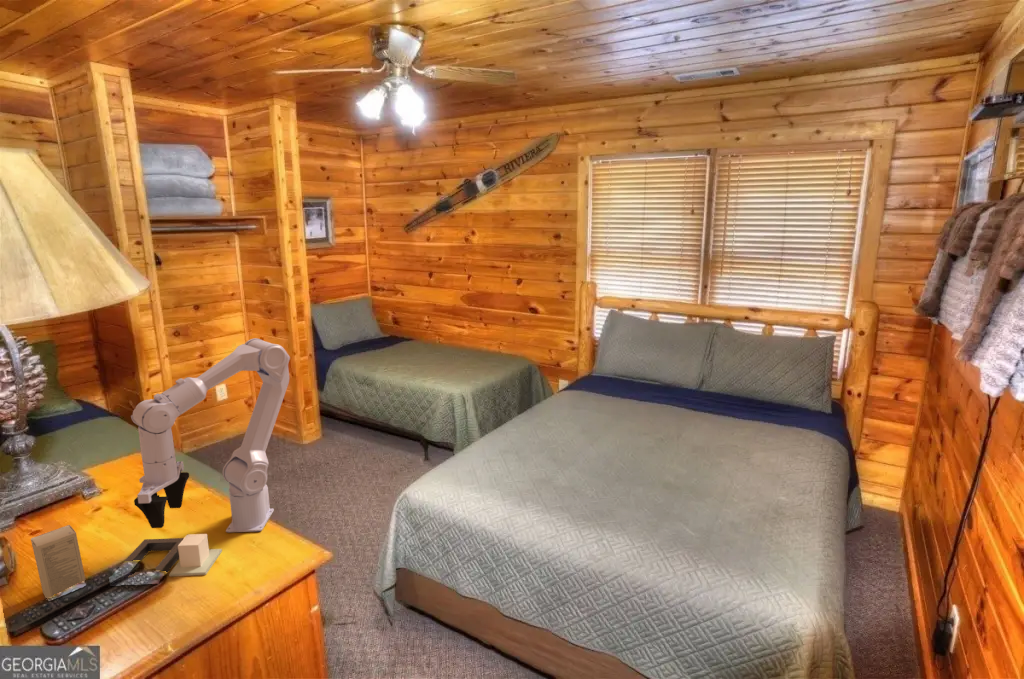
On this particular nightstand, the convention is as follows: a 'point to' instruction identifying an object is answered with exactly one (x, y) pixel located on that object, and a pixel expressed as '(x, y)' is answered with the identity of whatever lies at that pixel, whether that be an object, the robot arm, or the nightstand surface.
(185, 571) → the tile
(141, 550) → the dark brown rectangular frame
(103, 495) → the nightstand surface
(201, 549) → the peg
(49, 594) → the skincare box
